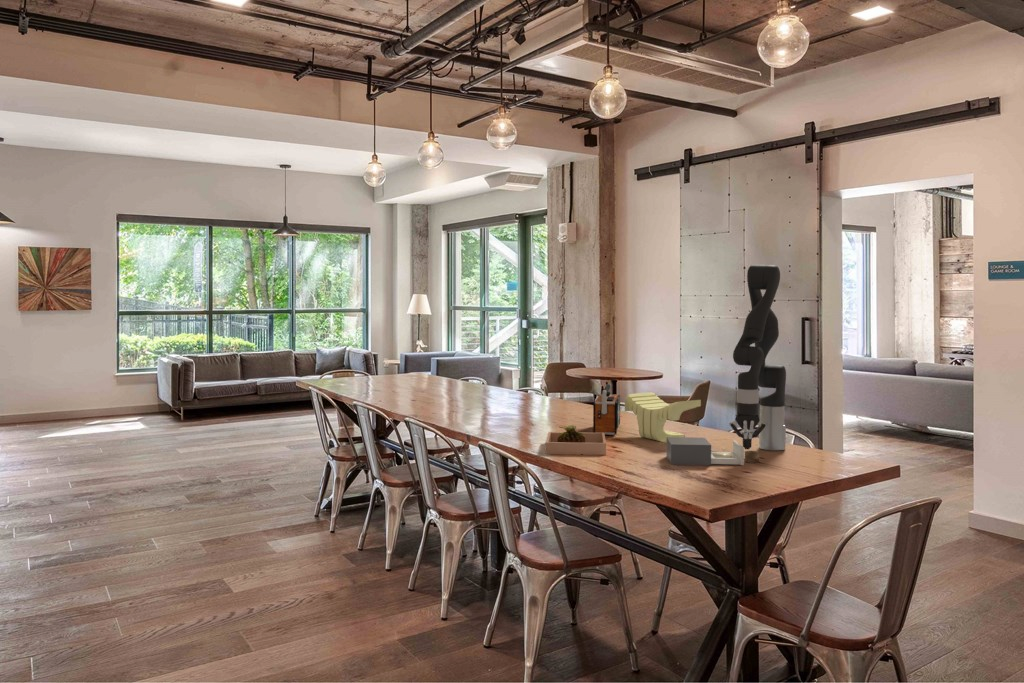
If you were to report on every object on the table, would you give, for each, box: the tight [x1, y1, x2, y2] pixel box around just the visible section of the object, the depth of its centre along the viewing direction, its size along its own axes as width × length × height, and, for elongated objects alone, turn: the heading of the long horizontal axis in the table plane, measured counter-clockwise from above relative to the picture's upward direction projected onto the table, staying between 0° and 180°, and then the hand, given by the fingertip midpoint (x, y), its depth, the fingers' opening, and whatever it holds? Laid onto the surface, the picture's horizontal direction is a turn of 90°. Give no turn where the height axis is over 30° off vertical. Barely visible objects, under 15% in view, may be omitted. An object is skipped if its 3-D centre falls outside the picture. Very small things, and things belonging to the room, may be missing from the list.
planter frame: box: [545, 431, 607, 456], centre depth 298 cm, size 23×23×4 cm
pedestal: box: [744, 450, 760, 464], centre depth 273 cm, size 5×5×4 cm
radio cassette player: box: [592, 383, 621, 436], centre depth 338 cm, size 29×10×20 cm, turn 169°
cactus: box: [557, 424, 585, 443], centre depth 297 cm, size 17×16×10 cm
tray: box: [711, 440, 745, 466], centre depth 273 cm, size 14×14×6 cm
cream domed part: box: [715, 453, 732, 458], centre depth 273 cm, size 6×6×2 cm
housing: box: [666, 436, 712, 467], centre depth 274 cm, size 14×14×7 cm
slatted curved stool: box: [624, 391, 702, 443], centre depth 319 cm, size 30×16×18 cm, turn 30°
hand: (747, 448), depth 272 cm, fingers closed
